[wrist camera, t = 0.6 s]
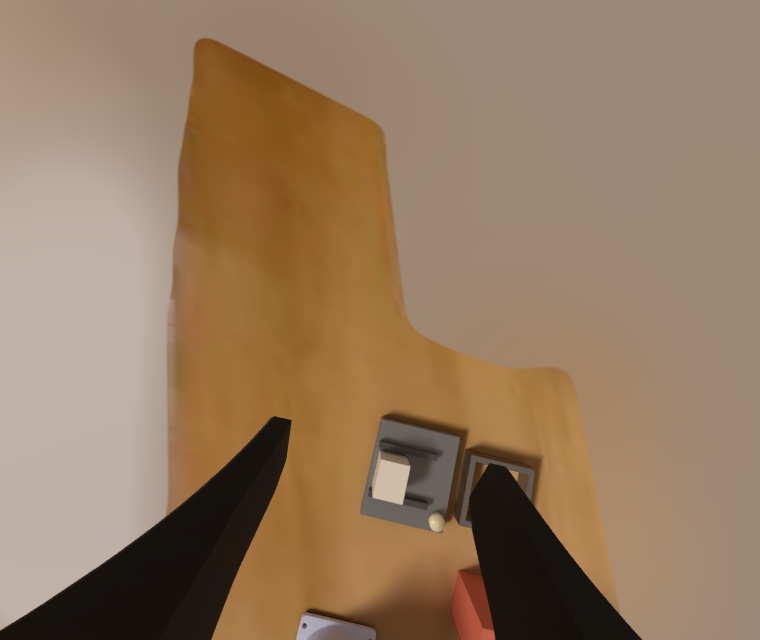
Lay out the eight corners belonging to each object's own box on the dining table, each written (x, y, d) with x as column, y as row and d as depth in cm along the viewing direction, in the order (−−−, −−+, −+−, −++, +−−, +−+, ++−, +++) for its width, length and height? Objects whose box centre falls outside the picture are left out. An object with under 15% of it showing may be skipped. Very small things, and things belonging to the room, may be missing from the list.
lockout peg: (486, 619, 31) (520, 692, 24) (450, 610, 31) (474, 681, 24) (493, 578, 32) (528, 639, 25) (458, 570, 32) (483, 628, 25)
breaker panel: (438, 525, 32) (444, 538, 30) (360, 507, 32) (360, 518, 30) (456, 434, 34) (462, 439, 32) (381, 416, 34) (382, 420, 32)
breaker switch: (399, 490, 31) (402, 504, 28) (372, 484, 31) (372, 497, 28) (406, 456, 32) (410, 466, 29) (379, 449, 32) (381, 459, 29)
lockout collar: (515, 530, 33) (525, 540, 31) (453, 515, 33) (459, 525, 31) (525, 463, 34) (535, 470, 32) (465, 449, 34) (471, 454, 32)
